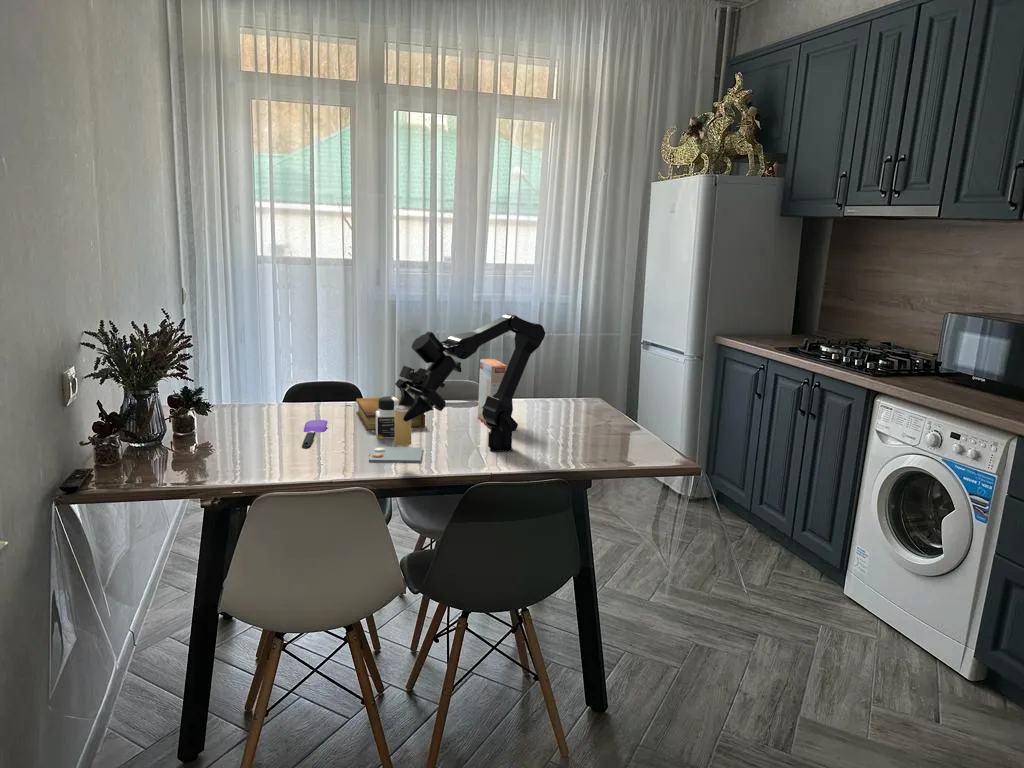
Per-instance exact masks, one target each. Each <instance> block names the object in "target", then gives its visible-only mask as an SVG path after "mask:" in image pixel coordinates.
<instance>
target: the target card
mask: <svg viewBox="0 0 1024 768" xmlns="http://www.w3.org/2000/svg"><path fill="white" fill-rule="evenodd" d="M422 455H423V447H421V446H420V447H417V446H416V447H413V446H411V447H410V446H408V447H407V446H373V448H372V450H371V454H370V457H369V459H368V462H370V463H417V462H419V463H420V462H421V463H422ZM419 463H418V464H419Z"/></svg>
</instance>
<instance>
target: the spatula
mask: <svg viewBox="0 0 1024 768" xmlns="http://www.w3.org/2000/svg"><path fill="white" fill-rule="evenodd" d="M328 422H329V421H328V420H325V419H313V420H309V421H306V422H305V424H304V427H303V432H305V433H306V435H305V437H304V439H303V441H302V444H301V447H302V448H303V449H309V448H310V447H311V445H312V443H313V441H314V436H315V434H316V433H325V431H326V430H327V425H328Z"/></svg>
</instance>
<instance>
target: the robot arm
mask: <svg viewBox="0 0 1024 768" xmlns="http://www.w3.org/2000/svg"><path fill="white" fill-rule="evenodd" d="M508 332H512V333H514V334H515V335H514V346H515V347H514V351H513V353H512V355H511V357H510V360H509V362H508V365H507V366H508V367H507V369H506V372H505V374H504V376H503V379H502V381H501V384H500V386H499V388H498V391H497V393H496V394H495V395H494V396H492V397H491V396H487V398H486V402H485V404H484V406H483V407H482V408H483V412H482V415H483V418H484V419H485V421H486V424H487V426H486V427H488V426H490V427H491V428H490V431H488V432H487V433H488V434H487V437H488V438H487V448H488V449H489V451H491V452H513V448H512V447H513V432H516V431H517V429H518V426H519V424H518V422H517V421H516V420H515V419H514V418H513V417H512V415H513V411H514V407H513V398H514V396H515V393H516V391H517V389H518V386H519V383H520V381H521V379H522V376H523V375H524V374H523V373H524V371H525V370H526V367H527V365H528V362H529V359H530V357H531V355H532V354H533V353H534V352H535V351H536V350H538V348H539V347H540V346H541V345H542V342H543V341H544V339H545V337H546V331H545V328H544V326H543V325H542V324H539V323H535V322H531V321H527V320H525V319H523V318H520V317H519V316H517V315H515V314H510V313H506V314H503V315H502V316H500V317H499V318H497V319H495V320H492V321H490V322H488V323H487V324H484V325H482V326H480V327H478V328H476V329H474V330H472V331H469V332H463V333H462V332H461V333H457V334H454V335H451V336H449V337H447V339H446V340H442V341H440V340H439V339H438V338H437V337H436V335H435V334H434V332H432V331H430V330H428V331H427V332H426V333H423V334H421V335H420V336H418V337H416V338H415V339H414V340H413V342H412V344H411V349H412V350H413V351H414V353H416V354H417V355H418V357H419V358H421V359H422V361H423V362H424V363H426V364H429V363H431V364H430V365H429V366H428V367H427V368H422V367H419V366H417V367H416V368H412V367H410V366H407V365H403V366H402V368H401V370H400V372H399V377H400V378H398V379H397V381H396V382H395V383H394V384H395V386H396V387H397V388H398V389H399V391H400V397H401V400H400V402H399V405H398V406H400V405H406V406H411V407H410V409H409V410H408V412H407V413H406V415H405V416H404V418H403V420H404V421H405V422H407V421H409V420H411V419H413V418H415V417H417V416H419V415H421V414H423V413H424V414H425V413H428V412H430V411H434V408H435V410H437V411H439V412H442V411H443V410H444V409H445V408H446V401H447V400H445V399H444V398H443V396H441V395H440V394H439V393H438V392H437V391H438V389H439V388H442V389H443V388H444V387H445V386H446V384H445V381H446V380H447V378H449V376H450V375H451V374H452V372H457V373H462V363H461V362H460V361H456V360H455V359H454V358H457V359H459V360H466V359H468V358H470V357H471V356H472V355H473V354H475V353H477V351H478V350H479V348H480V347H481V346H483V345H484V344H486V343H488V342H490V341H493V340H494V339H497V338H498V337H500V336H503V335H504V334H506V333H508ZM433 407H434V408H433Z"/></svg>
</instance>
